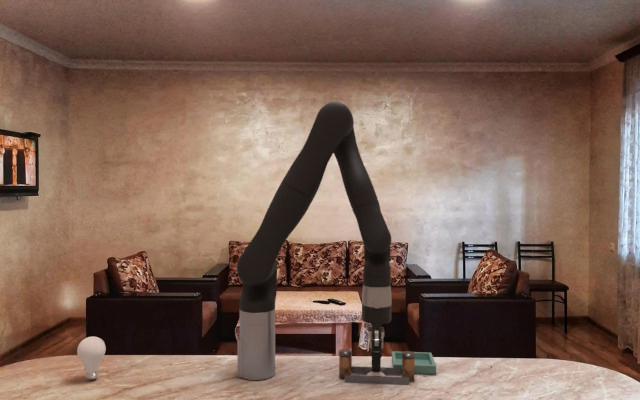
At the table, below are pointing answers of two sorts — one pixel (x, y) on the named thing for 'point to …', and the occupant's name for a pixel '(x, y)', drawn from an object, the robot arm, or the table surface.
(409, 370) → the rail
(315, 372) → the table surface
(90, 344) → the light bulb
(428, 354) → the tray
